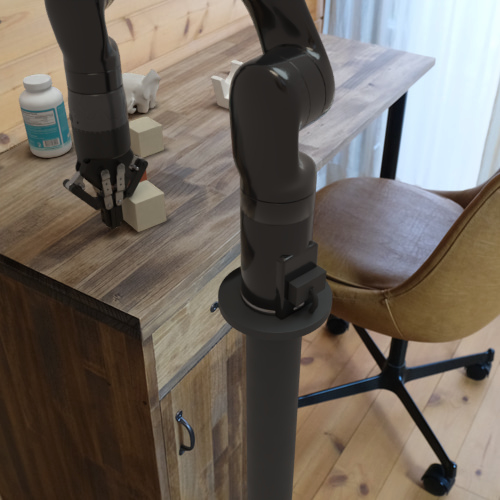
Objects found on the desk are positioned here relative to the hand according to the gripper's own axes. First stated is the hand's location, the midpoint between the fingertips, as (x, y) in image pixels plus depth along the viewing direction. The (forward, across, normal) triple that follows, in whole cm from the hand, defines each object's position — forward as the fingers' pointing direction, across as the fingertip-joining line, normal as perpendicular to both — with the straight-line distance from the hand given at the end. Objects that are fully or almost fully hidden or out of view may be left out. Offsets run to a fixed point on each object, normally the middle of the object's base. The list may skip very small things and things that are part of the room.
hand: (113, 225), depth 96 cm
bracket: (+1, +44, +20) cm, 49 cm away
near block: (+1, +5, 0) cm, 5 cm away
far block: (+1, +18, +19) cm, 27 cm away
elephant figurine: (+2, +27, +35) cm, 44 cm away
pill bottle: (+2, +6, +30) cm, 31 cm away
